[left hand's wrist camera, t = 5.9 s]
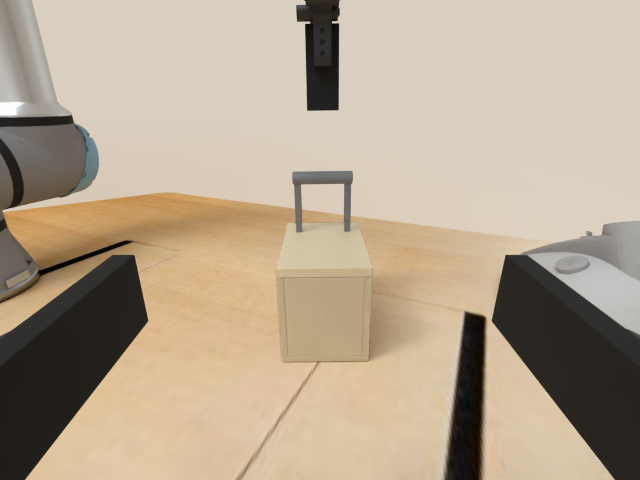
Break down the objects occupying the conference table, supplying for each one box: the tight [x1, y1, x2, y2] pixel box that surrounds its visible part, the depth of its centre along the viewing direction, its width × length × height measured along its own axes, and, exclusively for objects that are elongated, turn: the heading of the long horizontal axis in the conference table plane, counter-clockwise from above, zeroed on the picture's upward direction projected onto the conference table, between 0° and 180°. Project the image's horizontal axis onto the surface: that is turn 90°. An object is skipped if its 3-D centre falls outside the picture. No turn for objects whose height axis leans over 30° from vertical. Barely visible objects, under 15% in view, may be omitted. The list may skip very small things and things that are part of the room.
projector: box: [520, 221, 640, 335], centre depth 38 cm, size 22×23×15 cm
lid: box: [275, 171, 373, 278], centre depth 38 cm, size 13×9×8 cm
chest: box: [276, 277, 372, 362], centre depth 41 cm, size 13×9×10 cm
